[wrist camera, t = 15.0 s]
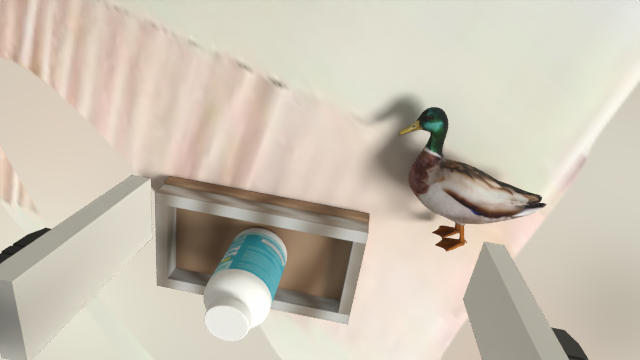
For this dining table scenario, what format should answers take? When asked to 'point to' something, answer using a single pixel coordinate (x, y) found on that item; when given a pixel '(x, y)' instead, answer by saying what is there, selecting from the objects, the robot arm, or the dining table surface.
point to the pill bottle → (244, 284)
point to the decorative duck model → (461, 186)
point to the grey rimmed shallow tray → (271, 214)
